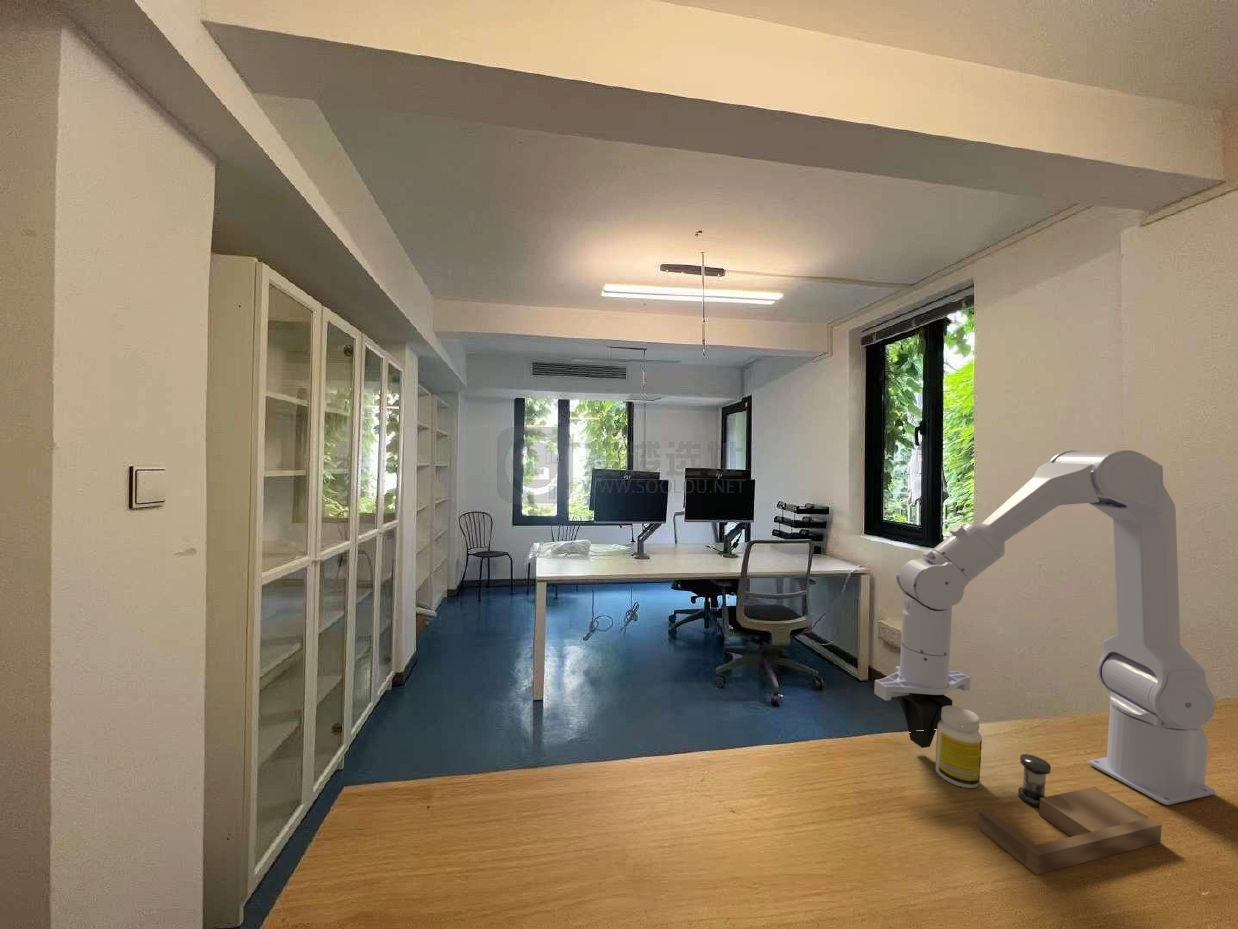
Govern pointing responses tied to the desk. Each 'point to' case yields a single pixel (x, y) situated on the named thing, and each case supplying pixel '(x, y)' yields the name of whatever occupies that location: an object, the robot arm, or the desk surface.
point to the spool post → (1033, 779)
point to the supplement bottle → (958, 747)
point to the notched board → (1076, 830)
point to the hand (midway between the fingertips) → (919, 743)
